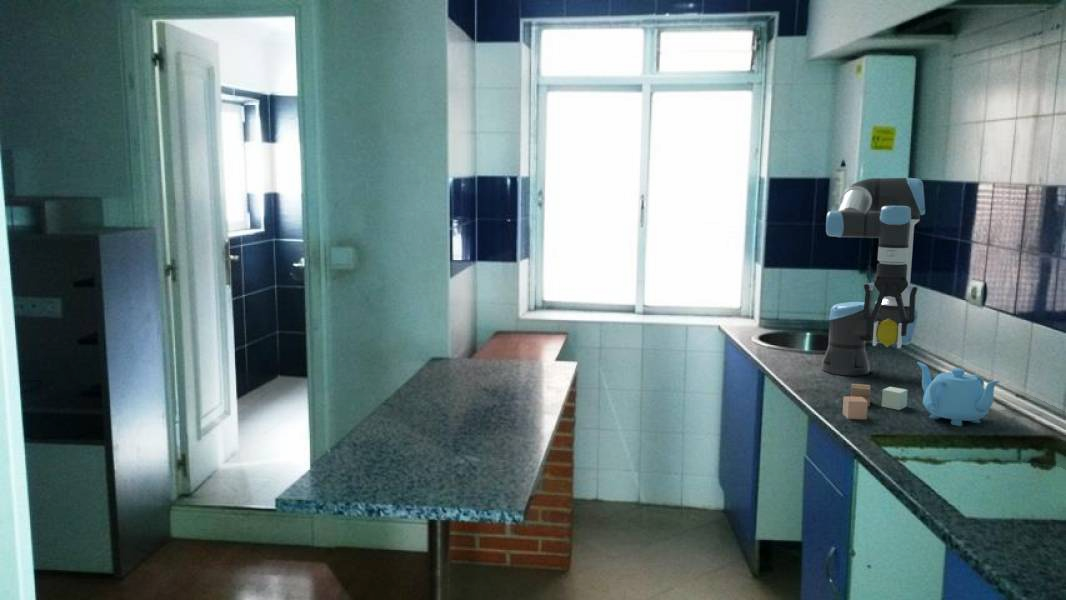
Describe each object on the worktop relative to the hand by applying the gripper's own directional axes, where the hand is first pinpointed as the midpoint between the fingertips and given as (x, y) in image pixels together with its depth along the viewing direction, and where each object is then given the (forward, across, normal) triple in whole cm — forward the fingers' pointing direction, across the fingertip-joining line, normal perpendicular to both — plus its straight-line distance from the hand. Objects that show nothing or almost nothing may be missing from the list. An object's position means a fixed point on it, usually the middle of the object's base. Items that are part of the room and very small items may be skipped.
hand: (886, 345), depth 220 cm
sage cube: (+19, +2, +7) cm, 20 cm away
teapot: (+19, +18, +2) cm, 26 cm away
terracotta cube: (+19, -6, -9) cm, 22 cm away
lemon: (+1, 0, 0) cm, 1 cm away
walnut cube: (+19, -7, +6) cm, 21 cm away
